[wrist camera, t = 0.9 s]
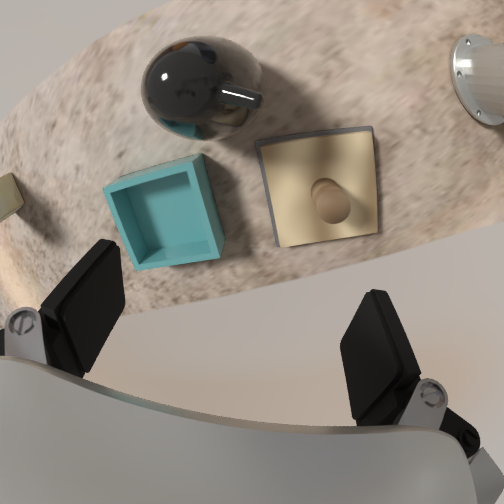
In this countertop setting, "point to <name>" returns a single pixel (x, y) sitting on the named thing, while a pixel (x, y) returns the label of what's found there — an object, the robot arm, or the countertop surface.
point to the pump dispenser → (203, 88)
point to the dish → (167, 214)
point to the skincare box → (9, 197)
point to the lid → (322, 187)
